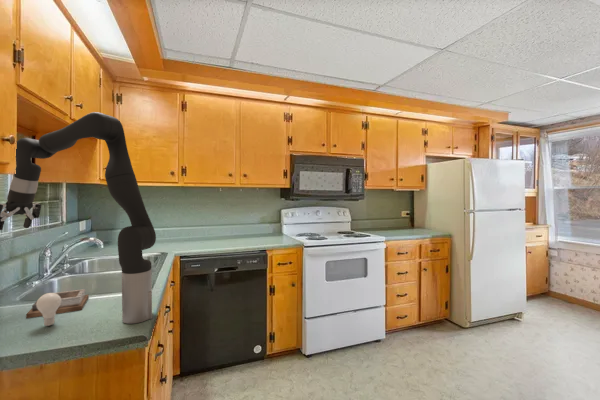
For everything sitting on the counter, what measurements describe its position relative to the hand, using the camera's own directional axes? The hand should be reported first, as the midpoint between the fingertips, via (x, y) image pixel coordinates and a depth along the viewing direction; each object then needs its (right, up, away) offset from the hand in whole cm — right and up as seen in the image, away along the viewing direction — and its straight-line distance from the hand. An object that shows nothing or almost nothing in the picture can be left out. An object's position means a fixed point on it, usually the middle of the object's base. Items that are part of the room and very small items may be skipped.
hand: (13, 228), depth 113 cm
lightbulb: (+28, -31, -16) cm, 45 cm away
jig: (+18, -31, 0) cm, 36 cm away
